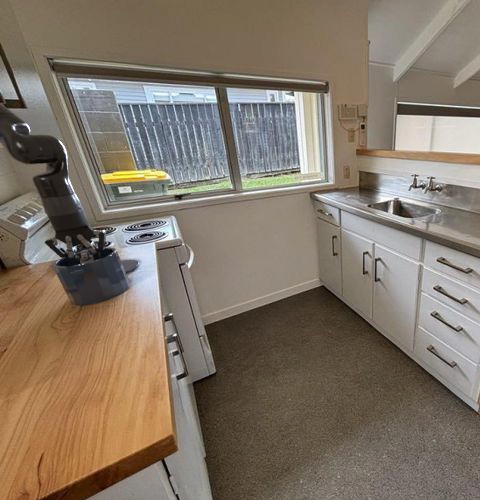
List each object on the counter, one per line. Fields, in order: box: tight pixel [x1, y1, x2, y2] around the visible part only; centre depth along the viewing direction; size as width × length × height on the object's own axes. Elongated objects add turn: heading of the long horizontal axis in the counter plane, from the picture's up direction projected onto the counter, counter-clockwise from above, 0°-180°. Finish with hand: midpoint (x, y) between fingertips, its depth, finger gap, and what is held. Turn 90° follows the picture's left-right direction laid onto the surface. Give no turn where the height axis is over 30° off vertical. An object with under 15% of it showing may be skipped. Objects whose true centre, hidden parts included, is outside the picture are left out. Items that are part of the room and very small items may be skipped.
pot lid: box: [121, 259, 140, 274], centre depth 103 cm, size 16×16×6 cm
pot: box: [51, 247, 131, 307], centre depth 87 cm, size 15×20×12 cm
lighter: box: [79, 249, 94, 264], centre depth 86 cm, size 8×3×10 cm, turn 40°
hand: (89, 265), depth 86 cm, fingers closed on lighter, 3 cm apart
